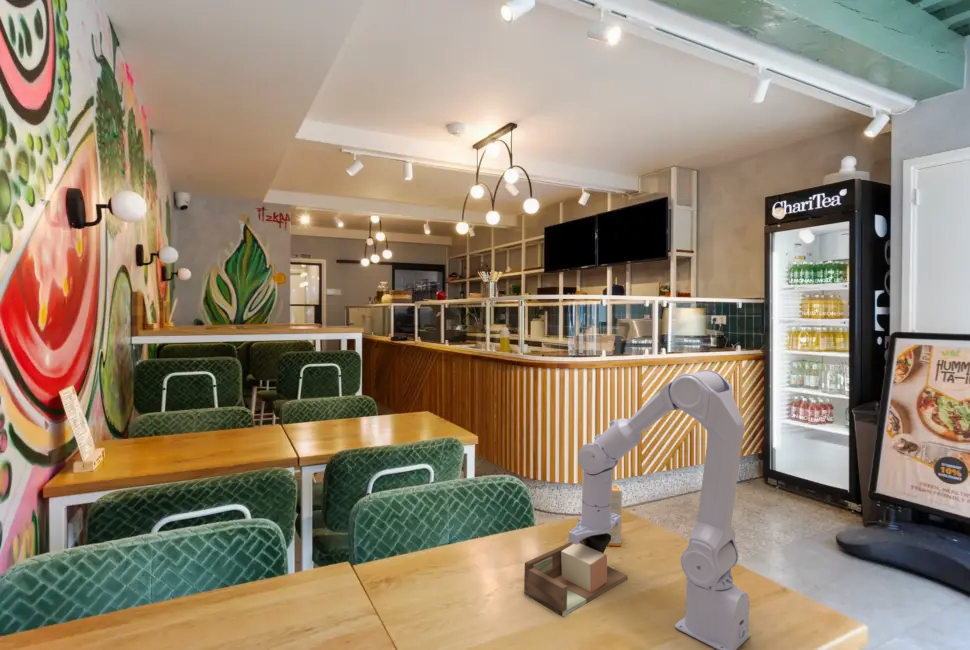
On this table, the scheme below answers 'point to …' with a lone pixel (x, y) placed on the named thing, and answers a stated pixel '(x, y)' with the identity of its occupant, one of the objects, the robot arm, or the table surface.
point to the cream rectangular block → (584, 566)
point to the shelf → (561, 583)
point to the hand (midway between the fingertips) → (594, 568)
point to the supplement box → (616, 509)
